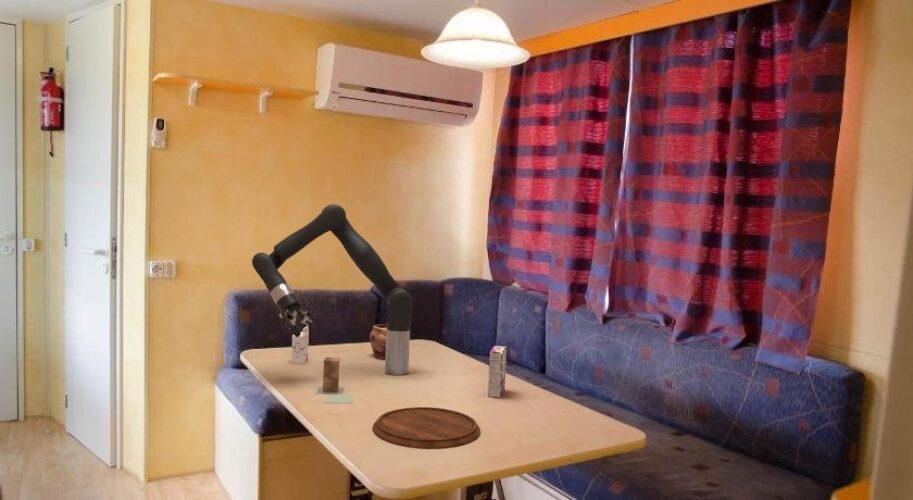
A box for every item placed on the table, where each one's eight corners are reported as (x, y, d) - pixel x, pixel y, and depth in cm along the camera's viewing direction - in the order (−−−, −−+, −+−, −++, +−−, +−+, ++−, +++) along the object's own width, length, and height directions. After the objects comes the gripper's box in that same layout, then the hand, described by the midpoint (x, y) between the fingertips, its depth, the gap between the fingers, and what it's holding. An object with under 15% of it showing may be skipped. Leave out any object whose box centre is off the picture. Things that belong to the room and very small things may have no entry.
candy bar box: (491, 389, 241) (493, 345, 240) (504, 390, 240) (507, 346, 239) (486, 397, 230) (489, 351, 229) (500, 398, 229) (503, 352, 228)
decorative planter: (359, 353, 291) (361, 322, 290) (383, 350, 298) (385, 320, 297) (381, 362, 274) (383, 330, 274) (406, 359, 281) (407, 328, 281)
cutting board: (422, 407, 215) (423, 400, 215) (501, 431, 195) (502, 423, 195) (349, 429, 191) (350, 421, 191) (431, 459, 171) (431, 450, 170)
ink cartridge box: (296, 359, 273) (297, 324, 272) (308, 359, 273) (309, 325, 272) (290, 363, 265) (292, 328, 264) (302, 364, 265) (304, 328, 264)
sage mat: (353, 396, 223) (354, 395, 223) (352, 404, 214) (352, 403, 214) (327, 396, 222) (327, 394, 222) (324, 403, 213) (324, 402, 213)
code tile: (344, 388, 233) (344, 387, 233) (342, 395, 224) (342, 394, 224) (319, 387, 232) (319, 386, 232) (316, 394, 223) (316, 393, 223)
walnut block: (338, 388, 230) (339, 357, 230) (337, 392, 226) (338, 361, 225) (324, 388, 230) (325, 357, 229) (322, 391, 225) (323, 360, 224)
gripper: (276, 293, 230) (299, 330, 225) (304, 291, 242) (326, 325, 237) (265, 306, 233) (287, 343, 228) (293, 303, 245) (315, 337, 240)
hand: (307, 334), depth 233 cm, fingers open, 8 cm apart
